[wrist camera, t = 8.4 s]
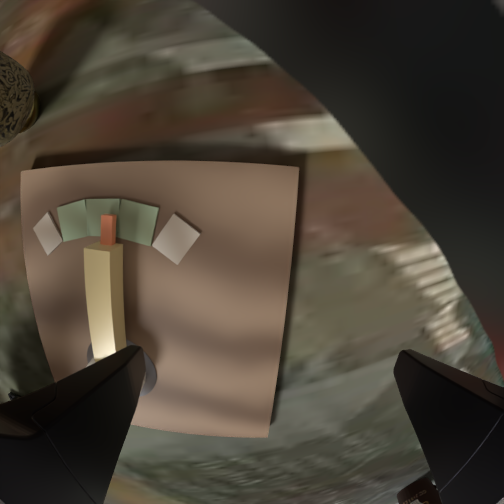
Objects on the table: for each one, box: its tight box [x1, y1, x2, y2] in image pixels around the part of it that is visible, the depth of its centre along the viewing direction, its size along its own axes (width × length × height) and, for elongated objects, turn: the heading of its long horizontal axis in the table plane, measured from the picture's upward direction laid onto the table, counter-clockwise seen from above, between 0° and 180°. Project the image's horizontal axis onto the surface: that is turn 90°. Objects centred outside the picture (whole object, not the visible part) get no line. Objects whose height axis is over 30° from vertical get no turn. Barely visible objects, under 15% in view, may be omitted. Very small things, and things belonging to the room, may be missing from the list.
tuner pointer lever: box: [84, 214, 146, 393], centre depth 16 cm, size 14×4×3 cm, turn 173°
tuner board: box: [21, 161, 299, 437], centre depth 19 cm, size 22×20×1 cm
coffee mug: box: [397, 478, 442, 504], centre depth 25 cm, size 12×9×10 cm
